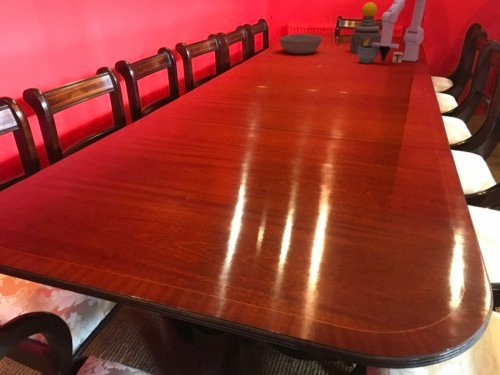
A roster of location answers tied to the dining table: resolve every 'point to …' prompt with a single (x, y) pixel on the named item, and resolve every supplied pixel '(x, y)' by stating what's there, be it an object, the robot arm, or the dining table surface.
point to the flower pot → (367, 53)
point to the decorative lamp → (366, 29)
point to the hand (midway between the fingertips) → (383, 60)
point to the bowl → (300, 43)
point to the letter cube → (397, 57)
